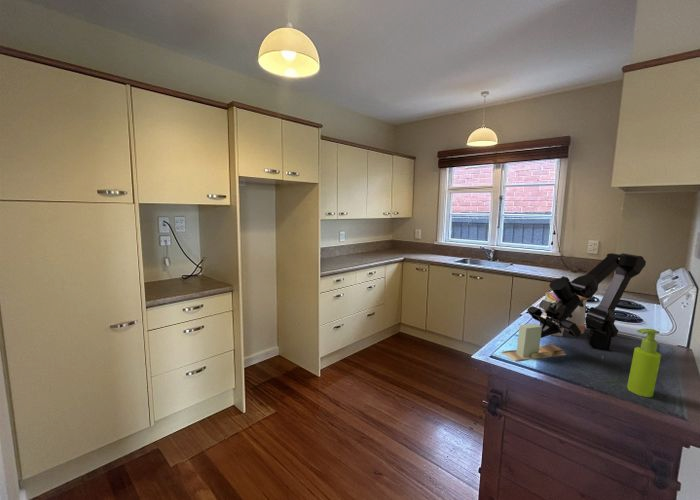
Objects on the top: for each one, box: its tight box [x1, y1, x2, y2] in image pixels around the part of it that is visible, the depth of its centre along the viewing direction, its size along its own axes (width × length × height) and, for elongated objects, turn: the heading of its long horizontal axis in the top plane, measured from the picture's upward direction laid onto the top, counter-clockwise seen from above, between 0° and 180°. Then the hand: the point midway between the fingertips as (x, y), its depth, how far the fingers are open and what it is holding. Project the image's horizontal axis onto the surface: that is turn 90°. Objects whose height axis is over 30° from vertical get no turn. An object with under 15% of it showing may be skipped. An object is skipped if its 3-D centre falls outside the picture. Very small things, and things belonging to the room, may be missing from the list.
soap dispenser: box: [626, 328, 662, 398], centre depth 95 cm, size 6×7×20 cm
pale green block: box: [516, 323, 542, 357], centre depth 115 cm, size 7×3×11 cm, turn 106°
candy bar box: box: [542, 291, 565, 338], centre depth 139 cm, size 11×5×16 cm, turn 168°
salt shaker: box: [564, 295, 590, 335], centre depth 140 cm, size 7×7×19 cm
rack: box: [500, 344, 567, 363], centre depth 117 cm, size 24×7×2 cm, turn 106°
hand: (537, 337), depth 116 cm, fingers closed, pressing on pale green block
